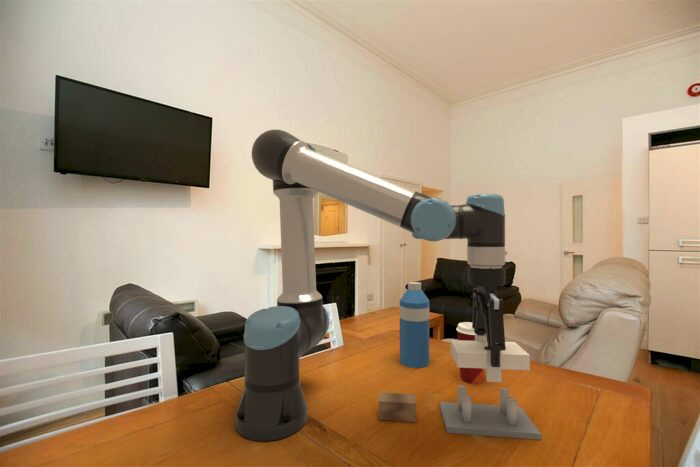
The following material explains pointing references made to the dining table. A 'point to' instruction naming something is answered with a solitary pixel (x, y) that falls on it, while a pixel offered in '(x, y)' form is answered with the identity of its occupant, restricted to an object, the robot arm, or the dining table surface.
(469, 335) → the coffee cup
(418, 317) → the water bottle
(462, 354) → the shelf board
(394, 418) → the riser block
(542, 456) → the dining table surface
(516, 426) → the peg stand
